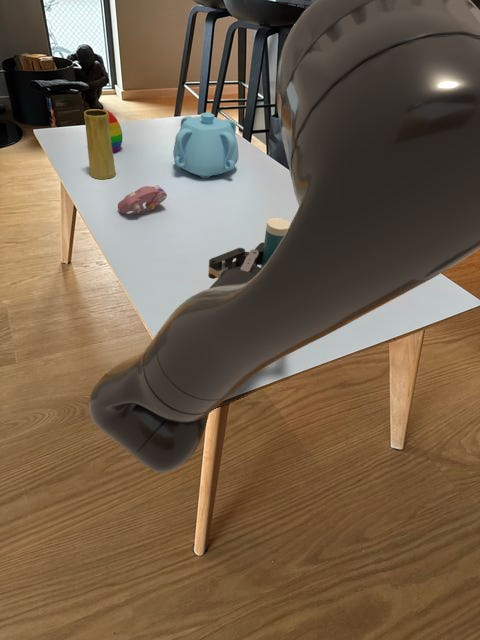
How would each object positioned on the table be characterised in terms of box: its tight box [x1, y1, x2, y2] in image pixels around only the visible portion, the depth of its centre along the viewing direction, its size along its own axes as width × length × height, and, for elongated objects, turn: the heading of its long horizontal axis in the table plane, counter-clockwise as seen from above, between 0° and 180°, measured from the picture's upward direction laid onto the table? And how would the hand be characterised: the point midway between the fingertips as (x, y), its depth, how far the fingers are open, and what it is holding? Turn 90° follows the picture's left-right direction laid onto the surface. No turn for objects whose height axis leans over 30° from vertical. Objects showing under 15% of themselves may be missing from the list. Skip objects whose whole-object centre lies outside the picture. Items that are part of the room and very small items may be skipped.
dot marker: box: [260, 217, 291, 268], centre depth 65 cm, size 3×3×13 cm
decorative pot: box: [172, 112, 240, 179], centre depth 116 cm, size 16×16×14 cm
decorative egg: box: [104, 109, 123, 153], centre depth 122 cm, size 8×8×10 cm
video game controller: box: [117, 184, 168, 215], centre depth 98 cm, size 10×5×7 cm, turn 132°
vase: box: [83, 108, 117, 180], centre depth 108 cm, size 6×6×14 cm
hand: (280, 250), depth 66 cm, fingers closed on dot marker, 3 cm apart
